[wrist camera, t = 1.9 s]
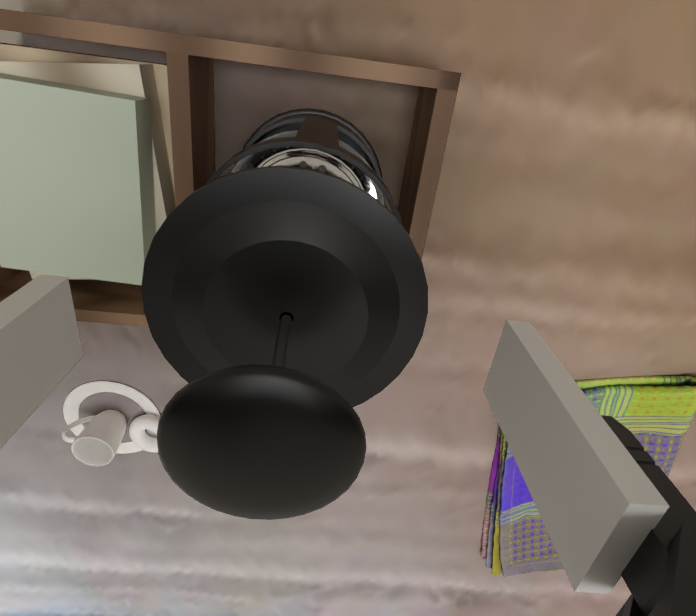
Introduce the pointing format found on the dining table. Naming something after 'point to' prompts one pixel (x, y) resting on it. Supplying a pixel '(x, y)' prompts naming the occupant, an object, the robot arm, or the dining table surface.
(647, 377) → the dish towel
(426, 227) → the walnut tray
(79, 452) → the teacup and saucer
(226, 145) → the dining table surface
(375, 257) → the french press
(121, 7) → the dining table surface
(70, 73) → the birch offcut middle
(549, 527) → the robot arm
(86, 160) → the sage offcut top
